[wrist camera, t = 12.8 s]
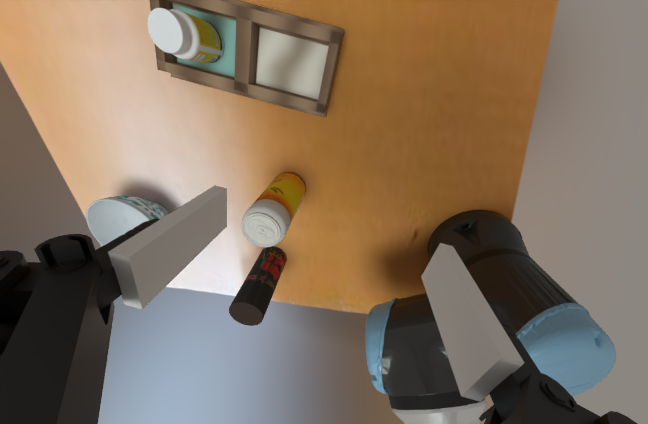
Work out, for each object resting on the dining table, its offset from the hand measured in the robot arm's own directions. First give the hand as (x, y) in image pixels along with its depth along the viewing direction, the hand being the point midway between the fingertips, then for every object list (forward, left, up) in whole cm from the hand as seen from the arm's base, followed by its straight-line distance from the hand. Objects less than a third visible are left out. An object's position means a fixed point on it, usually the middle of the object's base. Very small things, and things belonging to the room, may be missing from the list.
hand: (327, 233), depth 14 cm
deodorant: (+9, +29, -27) cm, 41 cm away
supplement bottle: (+22, -8, -26) cm, 35 cm away
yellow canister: (+8, +11, -27) cm, 30 cm away
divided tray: (+16, -8, -27) cm, 33 cm away
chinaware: (+36, +26, -27) cm, 52 cm away
